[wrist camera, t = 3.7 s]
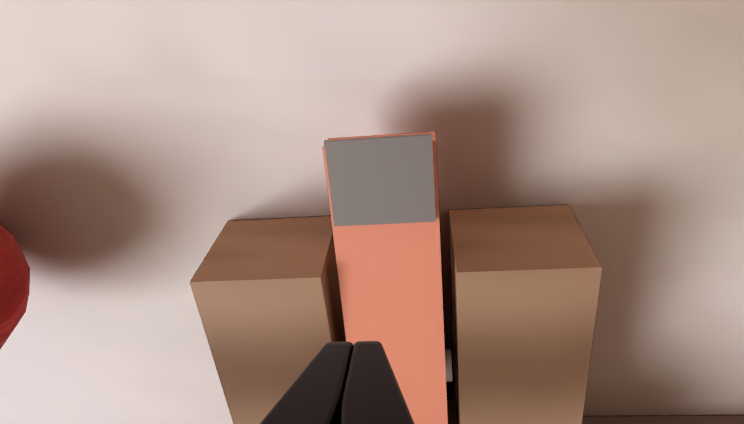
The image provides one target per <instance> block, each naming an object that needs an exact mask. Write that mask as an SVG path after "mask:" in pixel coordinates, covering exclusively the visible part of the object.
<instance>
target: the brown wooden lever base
mask: <svg viewBox="0 0 744 424" xmlns="http://www.w3.org/2000/svg"><path fill="white" fill-rule="evenodd" d="M449 218H450V253H451V288H452V323H453V358H454V393H455V401H447V417H448V424H582V419H583V411H584V403H585V396H586V388H587V381H588V373H589V365H590V358H591V350H592V342H593V335H594V327H595V320H596V312H597V304H598V297H599V289H600V282H601V274H602V266H601V264H600V262H599V260H598V258H597V256H596V254H595V253H594V251H593V249H592V247H591V245H590V243H589V241H588V240H587V238H586V236H585V234H584V232H583V230H582V229H581V227H580V225H579V223H578V221H577V219H576V217H575V216H574V214H573V212H572V210H571V208H570V206H569V205H548V206H528V207H507V208H486V209H466V210H449ZM190 285H191V288H192V291H193V294H194V298H195V301H196V304H197V307H198V311H199V314H200V317H201V320H202V323H203V327H204V330H205V333H206V336H207V340H208V343H209V346H210V349H211V353H212V356H213V359H214V362H215V365H216V369H217V372H218V375H219V378H220V382H221V385H222V388H223V391H224V395H225V398H226V401H227V404H228V407H229V411H230V414H231V417H232V420H233V424H260V422H261V421H262V420H263V419H264V418H265V416H266V415H267V414H268V413H269V412H270V410H271V409H272V408H273V407H274V406H275V404H276V403H277V402H278V401H279V399H280V398H281V397H282V396H283V395H284V393H285V392H286V391H287V390H288V389H289V387H290V386H291V385H292V384H293V382H294V381H295V380H296V379H297V378H298V376H299V375H300V374H301V373H302V372H303V370H304V369H305V368H306V367H307V365H308V364H309V363H310V362H311V361H312V359H313V358H314V357H315V356H316V355H317V353H318V352H319V351H320V350H321V348H322V347H323V346H324V345H325V344H326V343H328V342H346V336H345V328H344V319H343V311H342V303H341V295H340V287H339V278H338V270H337V262H336V254H335V246H334V237H333V229H332V221H331V216H321V217H300V218H279V219H259V220H238V221H227V223H226V225H225V226H224V228H223V229H222V231H221V233H220V234H219V236H218V237H217V239H216V241H215V242H214V244H213V245H212V247H211V249H210V250H209V252H208V254H207V255H206V257H205V258H204V260H203V262H202V263H201V265H200V266H199V268H198V270H197V271H196V273H195V274H194V276H193V278H192V279H191V281H190Z"/></svg>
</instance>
